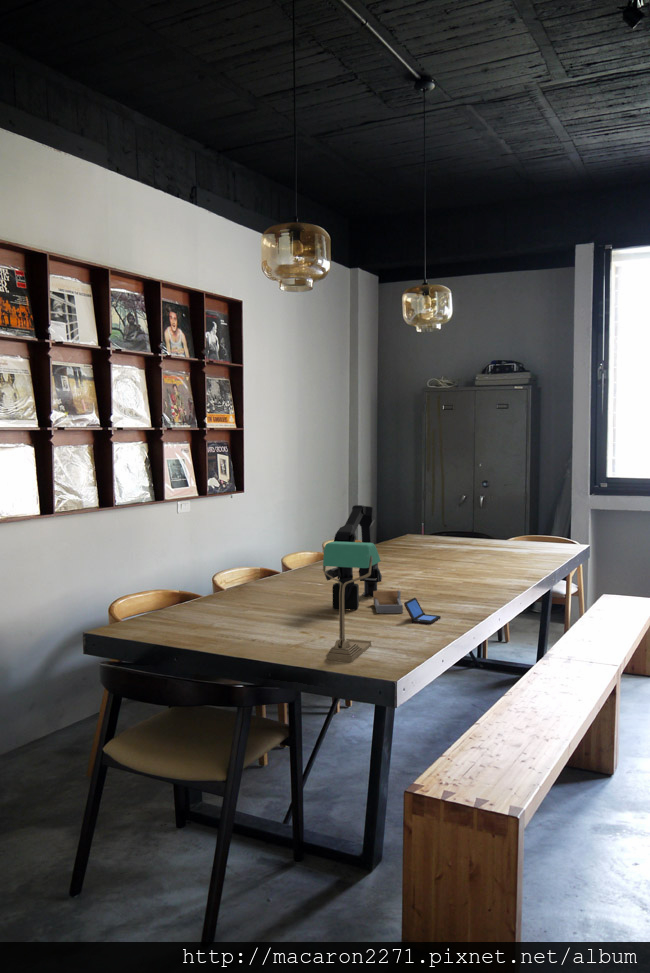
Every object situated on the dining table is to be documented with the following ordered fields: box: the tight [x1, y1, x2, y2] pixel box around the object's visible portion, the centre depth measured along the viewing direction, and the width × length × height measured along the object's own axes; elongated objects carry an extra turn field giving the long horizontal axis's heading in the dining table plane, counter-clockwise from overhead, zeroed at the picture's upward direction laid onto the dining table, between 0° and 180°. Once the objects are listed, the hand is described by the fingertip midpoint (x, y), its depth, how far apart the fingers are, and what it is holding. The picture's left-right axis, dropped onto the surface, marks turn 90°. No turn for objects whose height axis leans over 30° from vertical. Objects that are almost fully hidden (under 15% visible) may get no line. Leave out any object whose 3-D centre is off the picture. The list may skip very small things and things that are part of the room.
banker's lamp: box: [322, 540, 381, 663], centre depth 240 cm, size 16×21×35 cm
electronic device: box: [331, 582, 360, 611], centre depth 304 cm, size 4×10×10 cm, turn 79°
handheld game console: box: [403, 597, 442, 625], centre depth 284 cm, size 12×11×7 cm
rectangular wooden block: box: [372, 589, 402, 606], centre depth 311 cm, size 11×2×6 cm, turn 93°
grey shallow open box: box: [374, 598, 404, 614], centre depth 303 cm, size 14×10×3 cm
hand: (345, 600), depth 304 cm, fingers closed on electronic device, 4 cm apart
